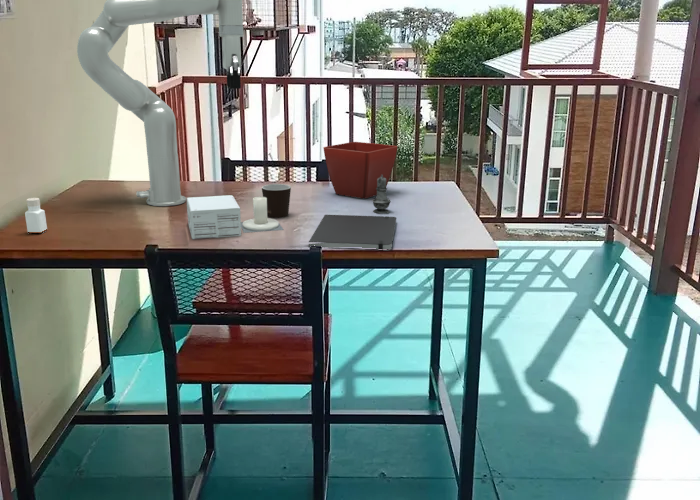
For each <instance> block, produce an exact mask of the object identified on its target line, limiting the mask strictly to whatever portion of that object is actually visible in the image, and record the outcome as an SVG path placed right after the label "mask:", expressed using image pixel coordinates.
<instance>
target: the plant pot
mask: <svg viewBox="0 0 700 500" xmlns="http://www.w3.org/2000/svg"><path fill="white" fill-rule="evenodd" d="M322 148H323V153H324V160H325V163H326V167H327V173H328V176H329V179H330V182H331V184H332V187H333V190H334V192H335V195H338V194H339V195H338V196H344V195H345V197H350V196H351V197H352V198H356V197H357V199H363V198H364V199H368V198H372V197H375V196H377V190H376V188H377V179H378V178H380V177H381V175H383V177H384V178H386V188H387V186H388V185H389V184H388V183H389V181H390V177H391V176H392V171H393V169H394V164H395V161H396V156H397V151H398V145H391V144H390V145H389V144H382V143H381V144H380V143H371V142H363V141H360V142H359V141H351V142H350V141H349V142H344V143H340V144H339V143H338V144H332V145H327V146H323V147H322ZM351 197H350V198H351Z"/></svg>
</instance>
